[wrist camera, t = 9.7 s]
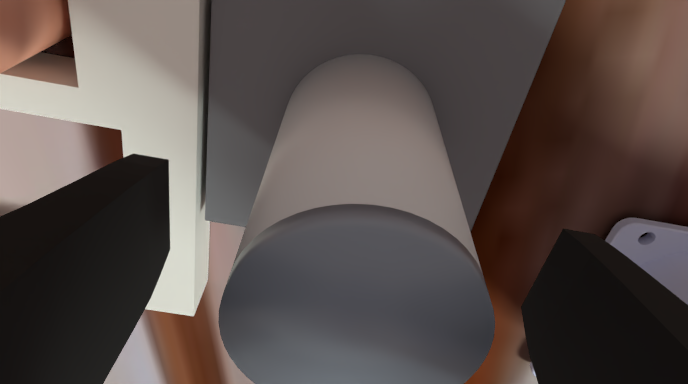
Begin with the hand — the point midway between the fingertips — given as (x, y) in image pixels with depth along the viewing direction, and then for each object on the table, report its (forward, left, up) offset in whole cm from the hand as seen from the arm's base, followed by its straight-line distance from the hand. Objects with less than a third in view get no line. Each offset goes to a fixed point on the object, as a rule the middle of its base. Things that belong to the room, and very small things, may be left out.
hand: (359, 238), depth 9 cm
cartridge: (0, 0, -5) cm, 5 cm away
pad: (0, 0, -6) cm, 6 cm away
